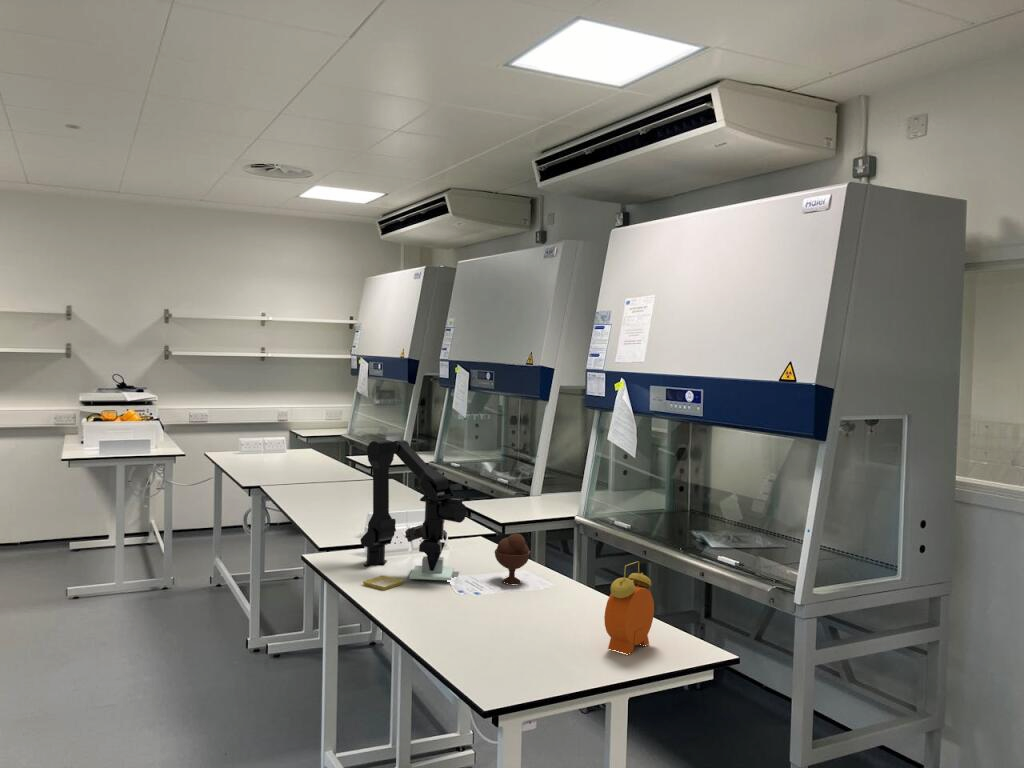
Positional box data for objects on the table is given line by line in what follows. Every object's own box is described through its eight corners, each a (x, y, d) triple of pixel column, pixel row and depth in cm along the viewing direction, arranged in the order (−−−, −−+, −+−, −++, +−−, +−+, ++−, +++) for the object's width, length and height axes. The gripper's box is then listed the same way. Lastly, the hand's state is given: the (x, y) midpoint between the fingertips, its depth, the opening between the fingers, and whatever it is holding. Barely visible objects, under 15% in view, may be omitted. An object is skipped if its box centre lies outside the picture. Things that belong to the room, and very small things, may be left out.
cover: (415, 567, 244) (416, 552, 244) (454, 569, 244) (454, 554, 244) (409, 578, 232) (410, 562, 232) (450, 580, 232) (450, 564, 232)
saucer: (361, 588, 228) (361, 581, 228) (382, 581, 235) (382, 574, 235) (383, 594, 223) (383, 586, 223) (404, 587, 230) (404, 580, 230)
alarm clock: (631, 636, 194) (634, 556, 194) (653, 643, 190) (656, 560, 190) (601, 650, 184) (605, 565, 183) (624, 658, 180) (628, 570, 179)
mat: (411, 571, 246) (411, 569, 246) (459, 573, 246) (459, 571, 246) (403, 584, 231) (403, 583, 231) (454, 587, 231) (454, 585, 231)
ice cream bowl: (530, 578, 243) (532, 530, 242) (527, 588, 232) (529, 538, 231) (496, 576, 244) (498, 528, 243) (491, 586, 233) (493, 536, 232)
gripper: (412, 510, 247) (410, 560, 248) (402, 522, 229) (400, 576, 229) (447, 512, 247) (446, 561, 248) (441, 524, 228) (439, 577, 229)
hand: (432, 568), depth 238 cm, fingers closed on cover, 3 cm apart
